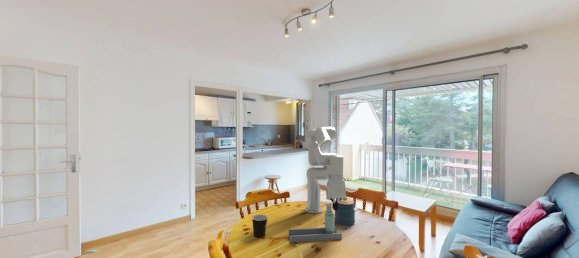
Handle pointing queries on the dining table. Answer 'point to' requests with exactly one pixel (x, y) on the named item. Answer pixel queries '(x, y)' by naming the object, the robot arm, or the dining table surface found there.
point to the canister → (345, 212)
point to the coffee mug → (259, 225)
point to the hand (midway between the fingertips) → (335, 209)
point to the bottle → (329, 220)
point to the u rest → (312, 235)
